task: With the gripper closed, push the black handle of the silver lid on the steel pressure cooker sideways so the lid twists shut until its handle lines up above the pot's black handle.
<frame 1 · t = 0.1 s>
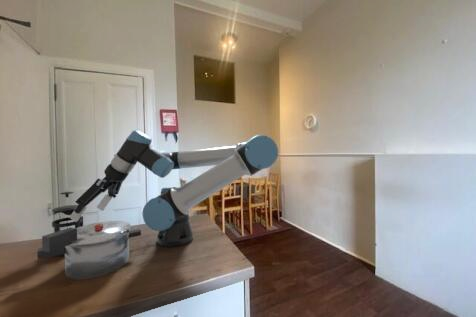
hand: (87, 213, 76), 15 cm above the kitchen counter, tool tilted 35°, fingers open, 13 cm apart
french press: (69, 250, 80), on the kitchen counter
pressure cooker pot: (99, 263, 70), on the kitchen counter
lid: (90, 229, 67), point 13 cm above the kitchen counter, hinge at 35.0°
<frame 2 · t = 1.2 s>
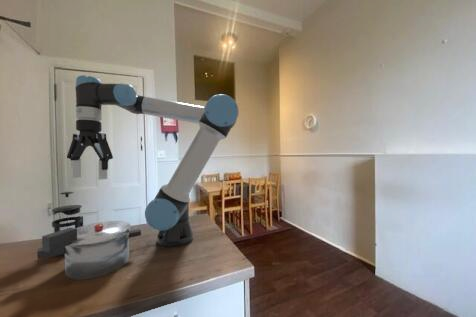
hand: (89, 178, 74), 29 cm above the kitchen counter, tool pointing down, fingers open, 13 cm apart
nothing on the kitchen counter moved.
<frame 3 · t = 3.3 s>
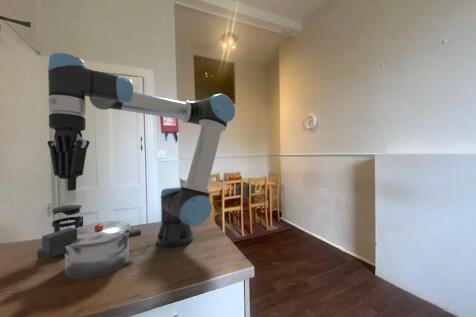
hand: (68, 202, 55), 25 cm above the kitchen counter, tool pointing down, fingers closed
nothing on the kitchen counter moved.
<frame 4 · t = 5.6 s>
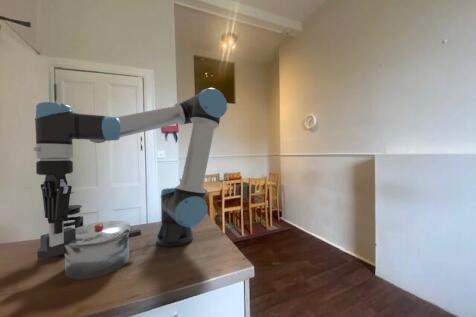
hand: (56, 244, 56), 12 cm above the kitchen counter, tool pointing down, fingers closed
lid: (90, 229, 67), point 13 cm above the kitchen counter, hinge at 31.3°, touching gripper
everything else where it was.
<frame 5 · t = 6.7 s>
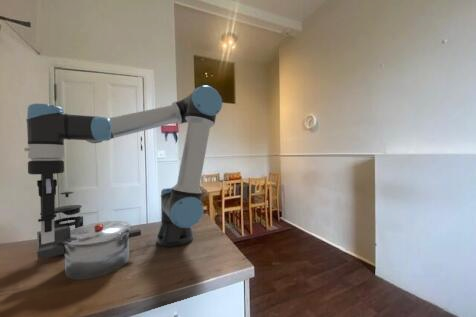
hand: (47, 242, 58), 12 cm above the kitchen counter, tool pointing down, fingers closed
lid: (89, 229, 67), point 13 cm above the kitchen counter, hinge at 13.9°, touching gripper
everything else where it was.
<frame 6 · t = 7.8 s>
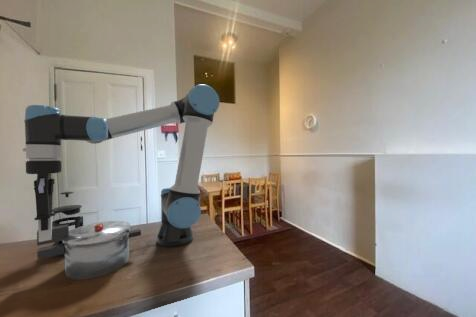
hand: (45, 240, 59), 12 cm above the kitchen counter, tool pointing down, fingers closed
lid: (89, 228, 68), point 13 cm above the kitchen counter, hinge at 3.0°, touching gripper
everything else where it was.
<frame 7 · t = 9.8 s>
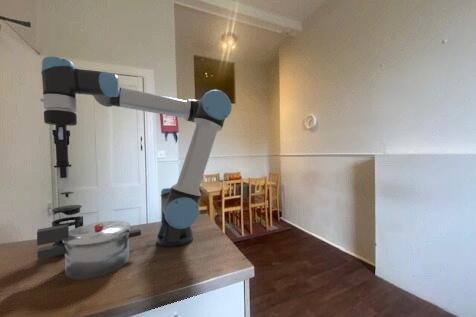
hand: (64, 188, 62), 27 cm above the kitchen counter, tool pointing down, fingers closed
lid: (89, 228, 68), point 13 cm above the kitchen counter, hinge at 3.0°
everything else where it was.
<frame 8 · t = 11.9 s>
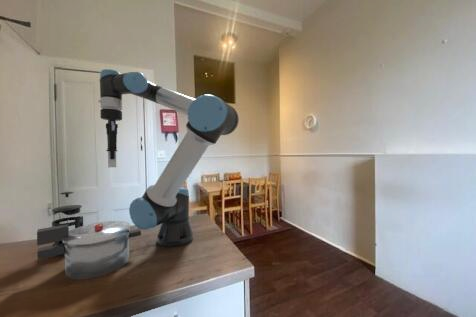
hand: (112, 167, 83), 32 cm above the kitchen counter, tool pointing down, fingers closed
nothing on the kitchen counter moved.
at the end: lid at +3° (first picture: +35°) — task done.
